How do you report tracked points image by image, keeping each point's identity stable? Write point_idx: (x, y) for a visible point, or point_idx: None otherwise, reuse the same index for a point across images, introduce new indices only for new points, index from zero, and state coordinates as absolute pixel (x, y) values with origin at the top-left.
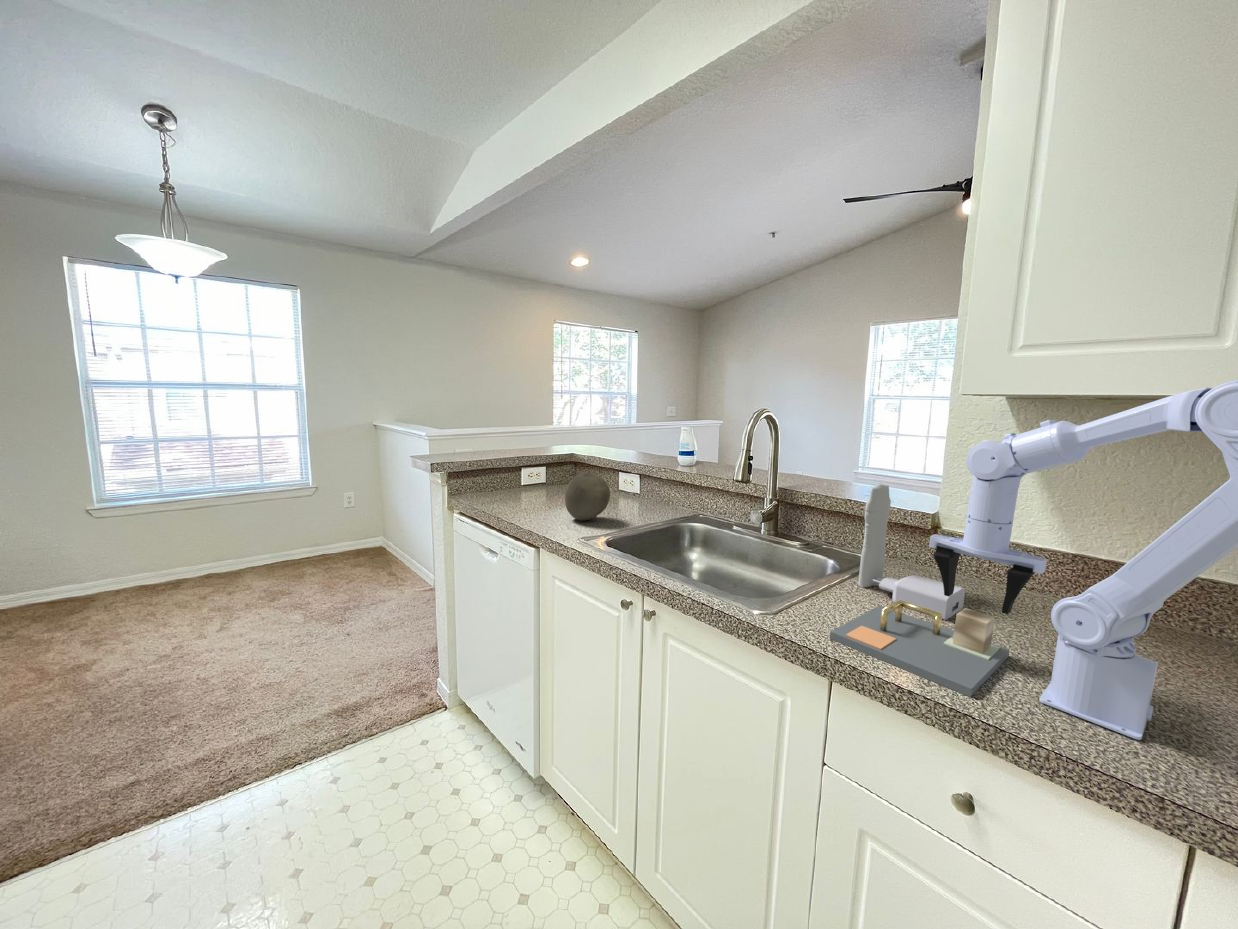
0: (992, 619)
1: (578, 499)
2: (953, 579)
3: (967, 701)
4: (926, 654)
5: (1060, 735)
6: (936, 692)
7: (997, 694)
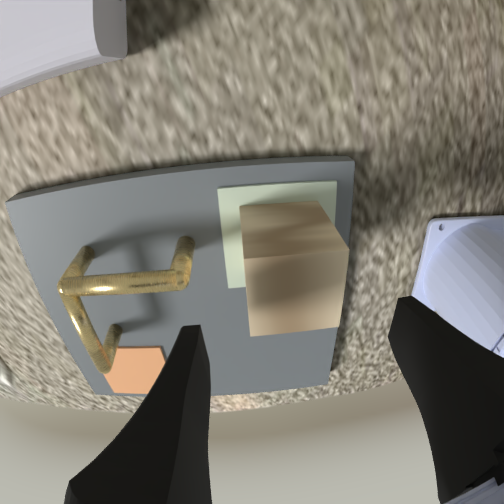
0: (345, 271)
1: None
2: (194, 389)
3: None
4: (232, 354)
5: None
6: (285, 393)
7: (354, 337)
